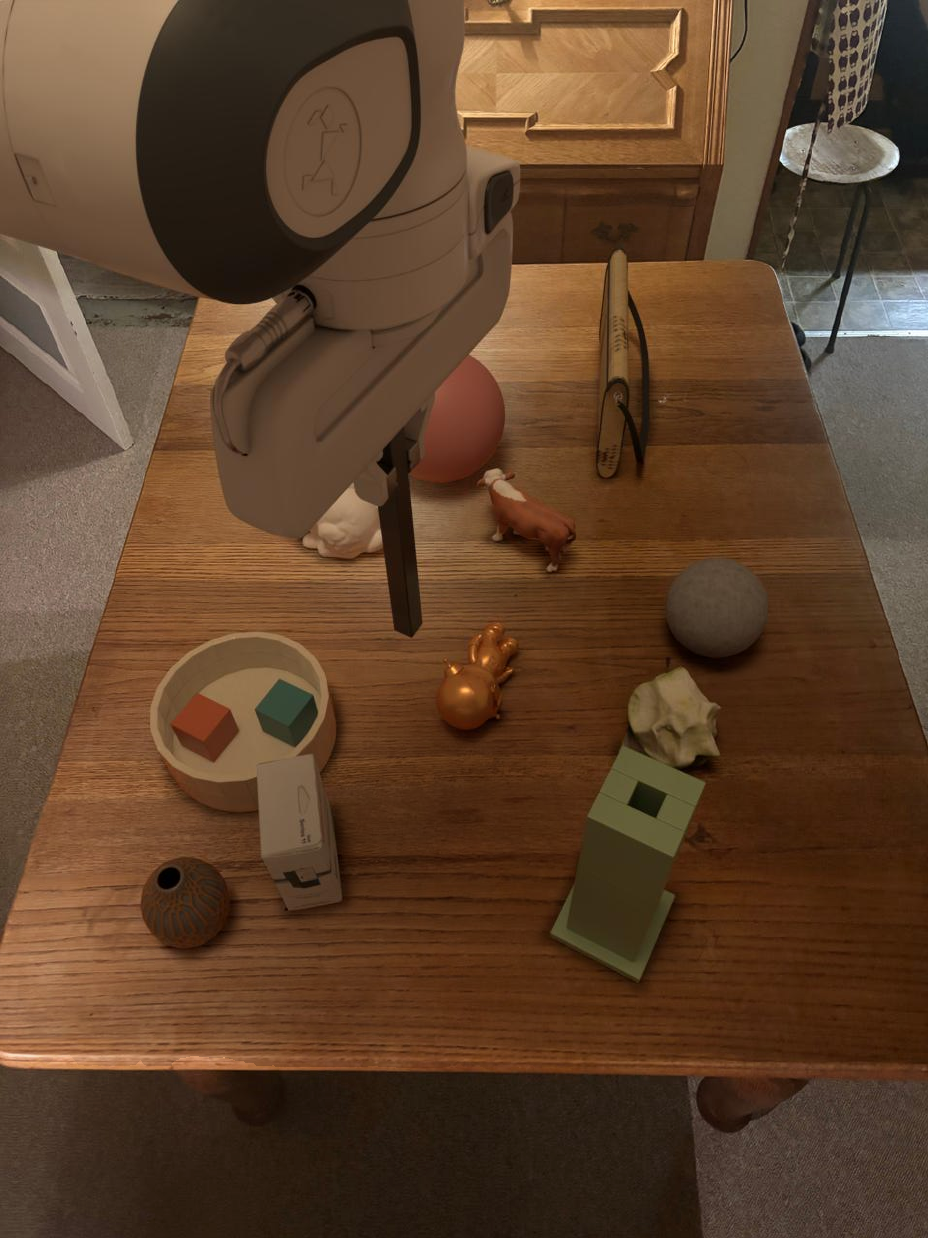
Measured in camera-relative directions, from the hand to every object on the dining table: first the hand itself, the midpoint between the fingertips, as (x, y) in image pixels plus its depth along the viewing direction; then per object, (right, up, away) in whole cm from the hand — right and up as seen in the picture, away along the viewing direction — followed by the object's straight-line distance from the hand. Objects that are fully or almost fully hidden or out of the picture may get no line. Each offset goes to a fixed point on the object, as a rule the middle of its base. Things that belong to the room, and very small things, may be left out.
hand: (391, 478), depth 49 cm
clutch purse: (+24, +19, +69) cm, 76 cm away
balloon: (+1, +13, +65) cm, 66 cm away
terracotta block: (-21, -19, +39) cm, 48 cm away
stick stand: (+16, -33, +28) cm, 47 cm away
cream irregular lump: (+24, -19, +39) cm, 50 cm away
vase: (-19, -33, +29) cm, 48 cm away
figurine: (+5, -15, +43) cm, 46 cm away
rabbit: (-11, +2, +57) cm, 58 cm away
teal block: (-13, -18, +40) cm, 46 cm away
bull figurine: (+11, +1, +55) cm, 56 cm away
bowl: (-17, -19, +40) cm, 48 cm away
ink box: (-10, -29, +32) cm, 45 cm away
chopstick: (0, -8, +10) cm, 13 cm away
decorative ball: (+29, -10, +46) cm, 56 cm away
